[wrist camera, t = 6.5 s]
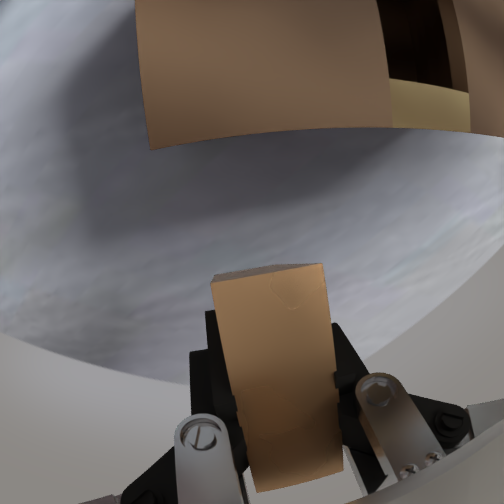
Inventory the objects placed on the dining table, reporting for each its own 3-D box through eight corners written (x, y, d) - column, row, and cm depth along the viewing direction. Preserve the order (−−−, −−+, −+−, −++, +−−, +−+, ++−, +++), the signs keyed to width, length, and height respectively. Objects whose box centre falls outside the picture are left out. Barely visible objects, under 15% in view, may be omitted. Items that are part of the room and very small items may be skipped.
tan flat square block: (214, 274, 12) (210, 283, 6) (274, 264, 13) (322, 263, 7) (240, 406, 12) (256, 492, 6) (294, 394, 12) (343, 470, 6)
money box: (160, -15, 14) (139, -119, 3) (403, -1, 16) (505, -31, 5) (175, 137, 19) (150, 150, 8) (420, 122, 21) (537, 143, 10)
